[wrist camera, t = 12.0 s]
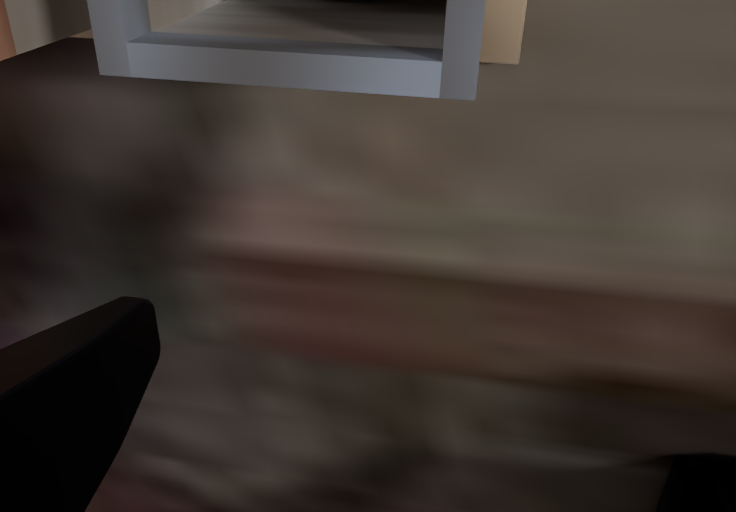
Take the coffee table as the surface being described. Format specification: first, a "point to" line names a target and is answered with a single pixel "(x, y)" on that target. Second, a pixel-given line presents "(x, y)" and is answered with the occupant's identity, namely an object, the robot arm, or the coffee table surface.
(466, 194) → the coffee table surface
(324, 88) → the box
